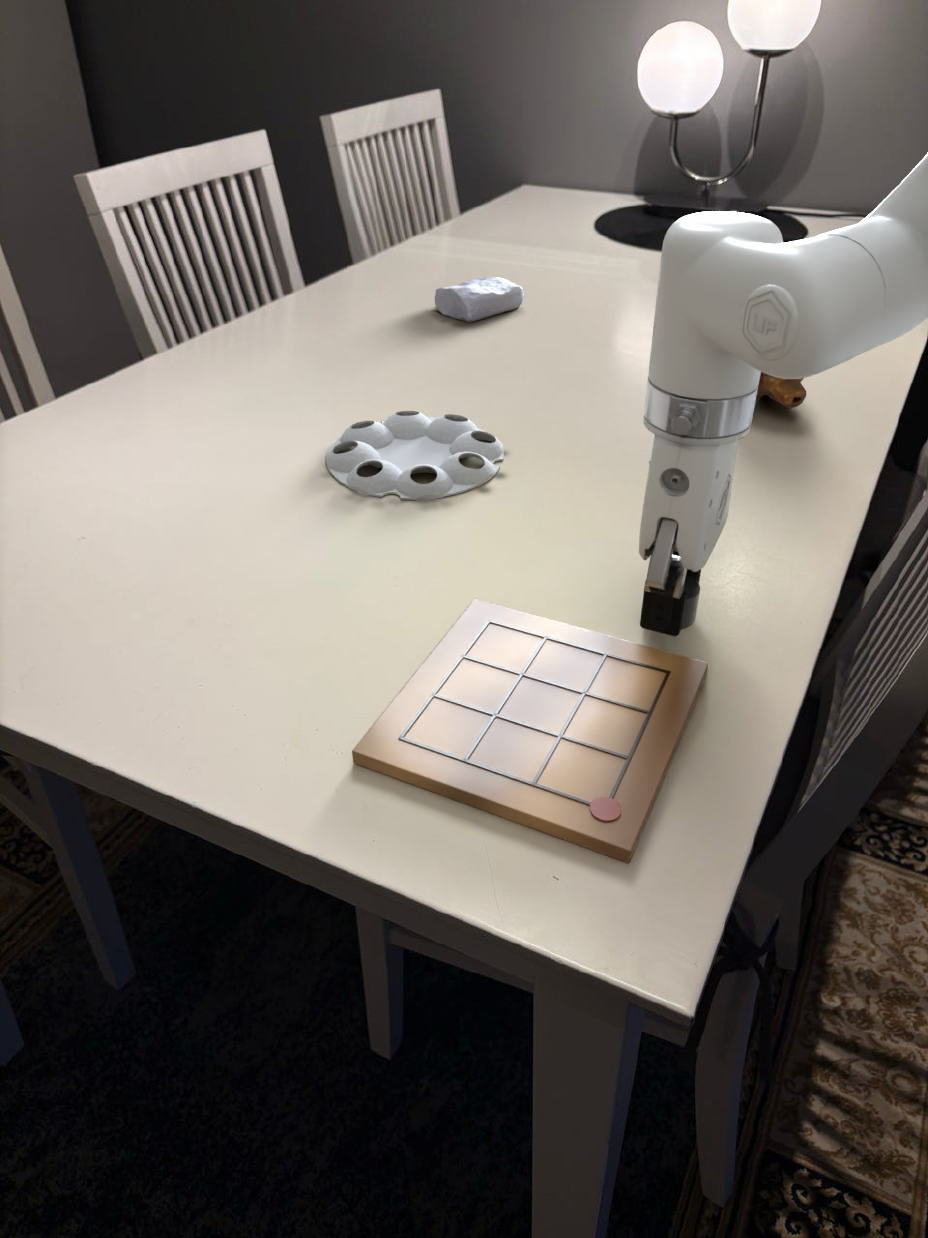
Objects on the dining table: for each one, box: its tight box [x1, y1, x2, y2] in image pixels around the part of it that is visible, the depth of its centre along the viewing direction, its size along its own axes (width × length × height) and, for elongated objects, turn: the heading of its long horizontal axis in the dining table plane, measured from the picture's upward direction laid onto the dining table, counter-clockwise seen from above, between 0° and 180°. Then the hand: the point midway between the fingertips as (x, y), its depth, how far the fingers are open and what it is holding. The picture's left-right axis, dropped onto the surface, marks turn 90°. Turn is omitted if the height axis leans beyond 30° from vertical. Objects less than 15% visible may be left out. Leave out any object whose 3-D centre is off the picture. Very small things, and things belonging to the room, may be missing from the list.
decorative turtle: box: [755, 372, 807, 409], centre depth 111 cm, size 10×15×8 cm, turn 23°
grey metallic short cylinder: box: [640, 571, 701, 631], centre depth 74 cm, size 4×4×3 cm
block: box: [434, 276, 525, 323], centre depth 139 cm, size 12×5×10 cm
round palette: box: [325, 410, 505, 501], centre depth 100 cm, size 20×20×2 cm
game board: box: [351, 598, 710, 864], centre depth 67 cm, size 20×20×1 cm
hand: (668, 611), depth 75 cm, fingers closed on grey metallic short cylinder, 4 cm apart
